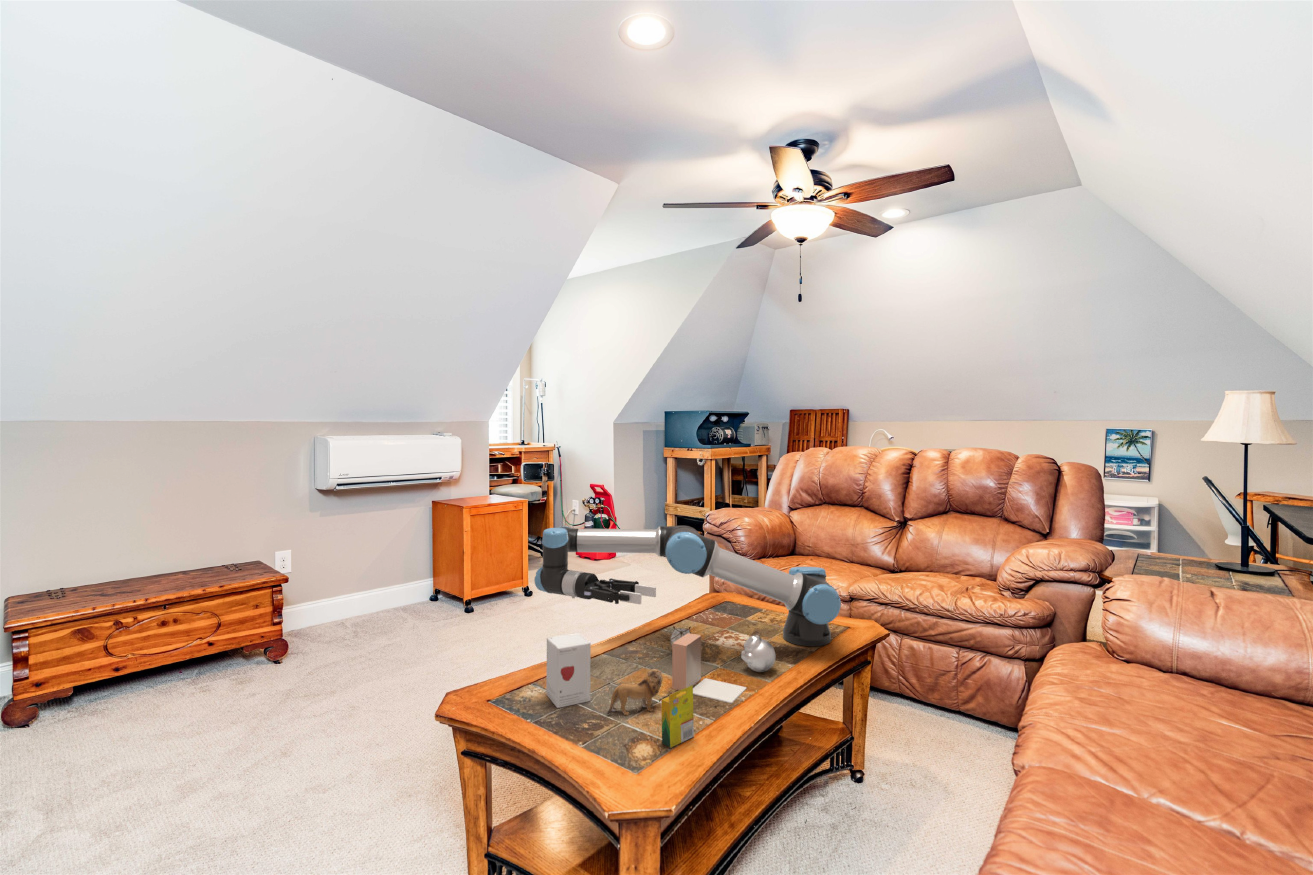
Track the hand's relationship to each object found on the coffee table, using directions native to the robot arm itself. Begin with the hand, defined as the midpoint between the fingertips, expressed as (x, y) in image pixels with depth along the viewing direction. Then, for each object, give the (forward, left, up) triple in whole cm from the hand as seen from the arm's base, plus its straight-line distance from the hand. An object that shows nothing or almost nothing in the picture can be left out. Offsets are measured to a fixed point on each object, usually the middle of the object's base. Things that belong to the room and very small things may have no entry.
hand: (648, 595), depth 171 cm
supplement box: (+20, +15, -22) cm, 33 cm away
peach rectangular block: (-10, +6, -22) cm, 25 cm away
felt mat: (-18, +11, -22) cm, 30 cm away
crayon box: (-7, +36, -22) cm, 43 cm away
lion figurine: (+3, +21, -22) cm, 31 cm away
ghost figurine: (-31, -2, -22) cm, 38 cm away
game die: (-10, -15, -22) cm, 29 cm away
